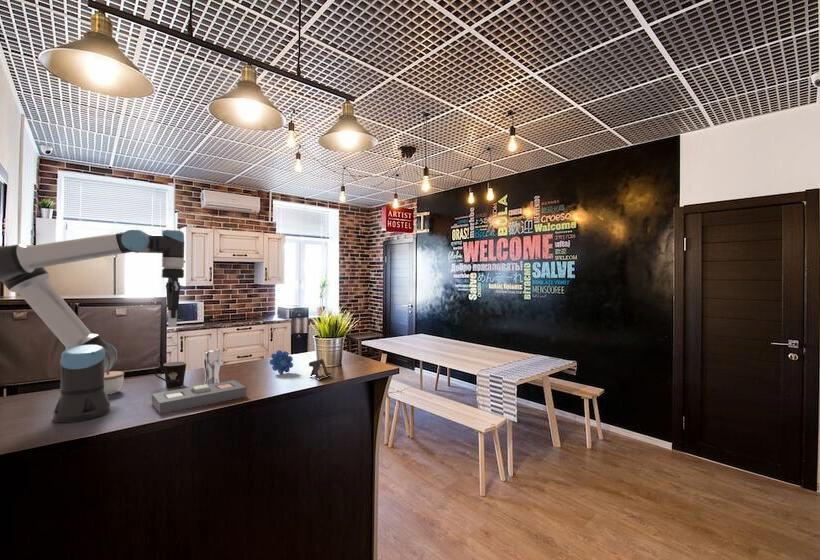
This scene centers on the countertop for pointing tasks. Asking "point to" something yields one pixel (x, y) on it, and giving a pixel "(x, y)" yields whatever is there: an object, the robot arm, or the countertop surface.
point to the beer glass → (212, 366)
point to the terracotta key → (224, 386)
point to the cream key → (174, 395)
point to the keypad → (197, 397)
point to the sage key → (200, 388)
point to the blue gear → (281, 361)
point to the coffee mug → (173, 374)
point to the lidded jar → (113, 381)
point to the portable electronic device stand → (316, 367)
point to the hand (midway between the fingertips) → (172, 325)
